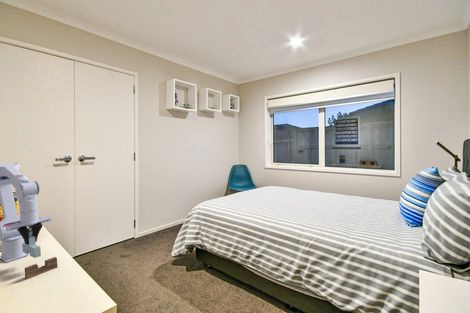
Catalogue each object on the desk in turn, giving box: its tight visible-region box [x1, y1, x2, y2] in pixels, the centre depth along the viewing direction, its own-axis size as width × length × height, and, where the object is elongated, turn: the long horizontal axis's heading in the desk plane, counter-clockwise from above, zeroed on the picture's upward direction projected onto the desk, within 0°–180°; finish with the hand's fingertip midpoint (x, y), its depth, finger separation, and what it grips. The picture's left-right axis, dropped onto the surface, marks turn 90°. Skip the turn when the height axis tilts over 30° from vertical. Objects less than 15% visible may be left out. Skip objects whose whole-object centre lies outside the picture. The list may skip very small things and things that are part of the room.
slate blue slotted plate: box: [22, 235, 42, 259], centre depth 98 cm, size 12×2×8 cm, turn 60°
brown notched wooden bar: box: [24, 256, 58, 280], centre depth 94 cm, size 2×10×4 cm, turn 151°
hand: (30, 242), depth 98 cm, fingers closed on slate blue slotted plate, 2 cm apart
